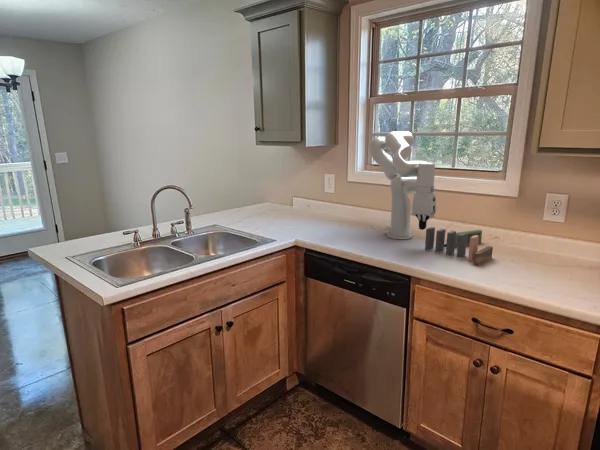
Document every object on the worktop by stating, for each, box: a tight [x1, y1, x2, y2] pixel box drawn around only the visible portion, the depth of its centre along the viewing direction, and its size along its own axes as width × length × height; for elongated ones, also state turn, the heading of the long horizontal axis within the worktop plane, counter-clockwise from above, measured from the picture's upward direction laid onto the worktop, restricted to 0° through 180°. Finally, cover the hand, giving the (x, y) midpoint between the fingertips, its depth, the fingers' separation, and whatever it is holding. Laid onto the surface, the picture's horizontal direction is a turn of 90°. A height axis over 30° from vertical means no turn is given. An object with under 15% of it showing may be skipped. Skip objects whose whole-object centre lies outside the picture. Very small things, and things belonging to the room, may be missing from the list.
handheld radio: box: [444, 229, 483, 248], centre depth 186 cm, size 7×3×25 cm
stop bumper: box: [472, 245, 494, 267], centre depth 164 cm, size 2×14×5 cm, turn 134°
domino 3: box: [445, 230, 457, 256], centre depth 173 cm, size 2×5×10 cm, turn 134°
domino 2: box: [434, 228, 446, 254], centre depth 177 cm, size 2×5×10 cm, turn 134°
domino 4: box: [456, 233, 467, 259], centre depth 170 cm, size 2×5×10 cm, turn 134°
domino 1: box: [424, 226, 436, 251], centre depth 180 cm, size 2×5×10 cm, turn 134°
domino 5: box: [467, 235, 479, 262], centre depth 166 cm, size 2×5×10 cm, turn 134°
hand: (422, 228), depth 182 cm, fingers closed
